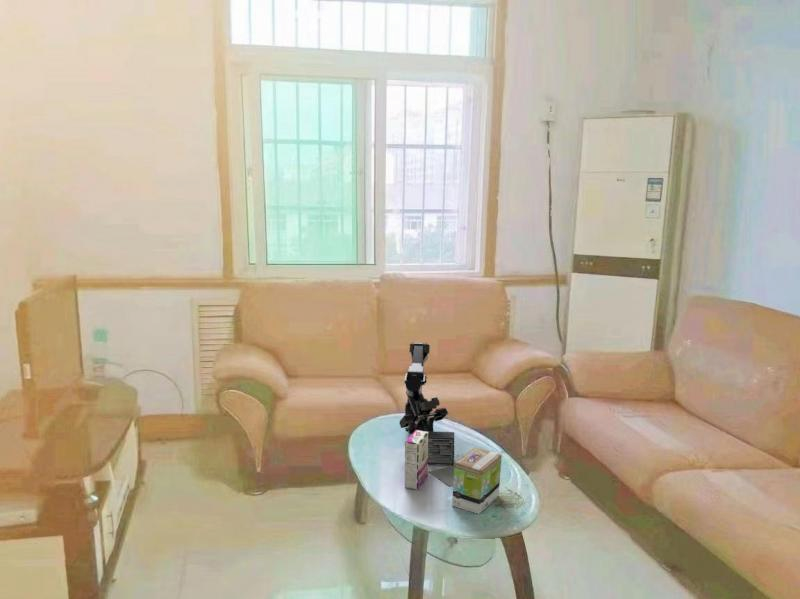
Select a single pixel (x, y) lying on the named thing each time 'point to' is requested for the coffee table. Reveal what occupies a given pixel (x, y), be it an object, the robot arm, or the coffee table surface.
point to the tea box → (476, 480)
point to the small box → (440, 448)
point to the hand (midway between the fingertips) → (432, 438)
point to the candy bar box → (416, 459)
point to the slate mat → (445, 474)
